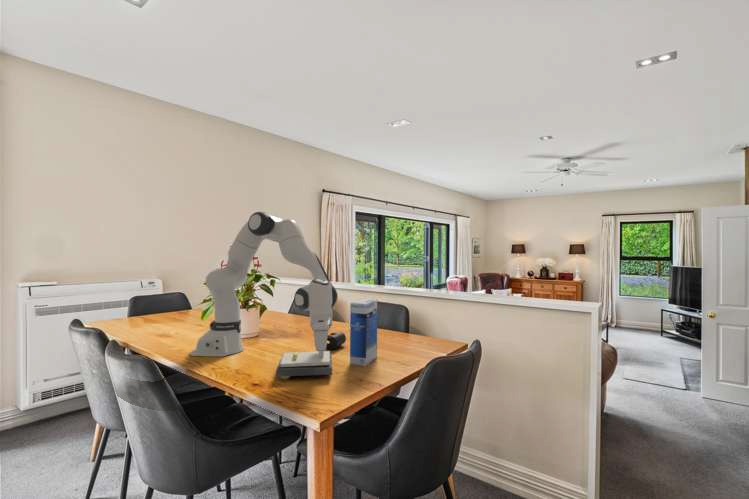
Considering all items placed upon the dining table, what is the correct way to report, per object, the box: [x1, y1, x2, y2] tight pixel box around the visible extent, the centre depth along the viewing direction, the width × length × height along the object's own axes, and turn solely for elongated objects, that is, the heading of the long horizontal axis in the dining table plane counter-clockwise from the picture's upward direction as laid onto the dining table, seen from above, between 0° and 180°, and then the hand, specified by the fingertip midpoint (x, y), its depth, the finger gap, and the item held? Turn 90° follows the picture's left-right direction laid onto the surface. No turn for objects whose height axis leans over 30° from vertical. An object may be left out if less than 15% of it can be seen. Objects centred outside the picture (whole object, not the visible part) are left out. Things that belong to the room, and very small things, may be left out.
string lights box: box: [349, 298, 378, 367], centre depth 158 cm, size 13×8×26 cm, turn 157°
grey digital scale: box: [275, 353, 333, 382], centre depth 143 cm, size 20×18×4 cm
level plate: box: [277, 350, 331, 367], centre depth 143 cm, size 19×14×3 cm
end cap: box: [325, 331, 347, 351], centre depth 178 cm, size 10×7×7 cm
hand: (321, 356), depth 143 cm, fingers closed, pressing on level plate
